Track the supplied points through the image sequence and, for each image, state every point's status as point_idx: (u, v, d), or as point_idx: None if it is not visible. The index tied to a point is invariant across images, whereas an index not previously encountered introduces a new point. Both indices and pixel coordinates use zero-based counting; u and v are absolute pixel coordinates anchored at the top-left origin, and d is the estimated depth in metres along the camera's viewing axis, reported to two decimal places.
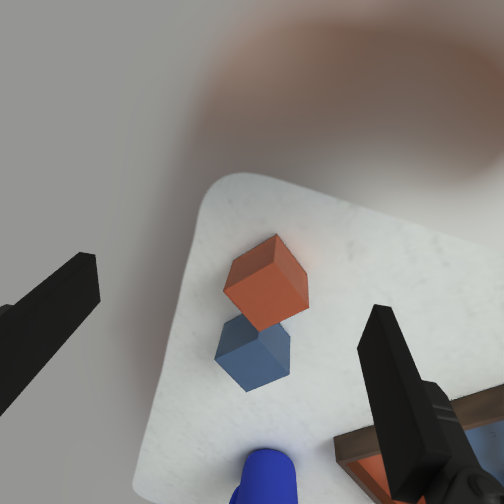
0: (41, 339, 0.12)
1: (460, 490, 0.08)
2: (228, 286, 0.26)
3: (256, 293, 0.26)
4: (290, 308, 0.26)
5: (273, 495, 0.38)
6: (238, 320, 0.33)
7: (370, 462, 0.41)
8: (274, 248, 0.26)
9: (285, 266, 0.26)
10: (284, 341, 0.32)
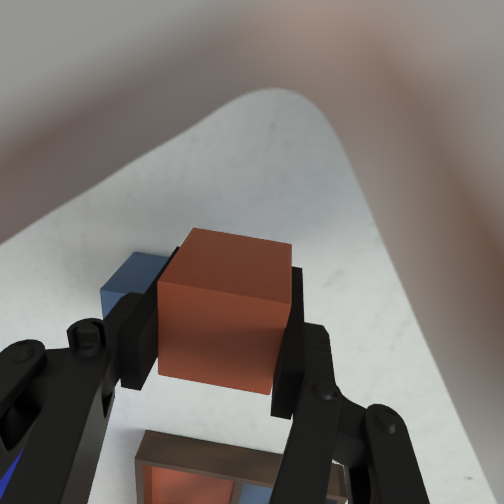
0: None
1: (306, 400, 0.10)
2: (173, 280, 0.12)
3: (211, 326, 0.13)
4: (241, 379, 0.14)
5: None
6: (157, 261, 0.24)
7: (162, 469, 0.36)
8: (290, 271, 0.14)
9: None
10: None
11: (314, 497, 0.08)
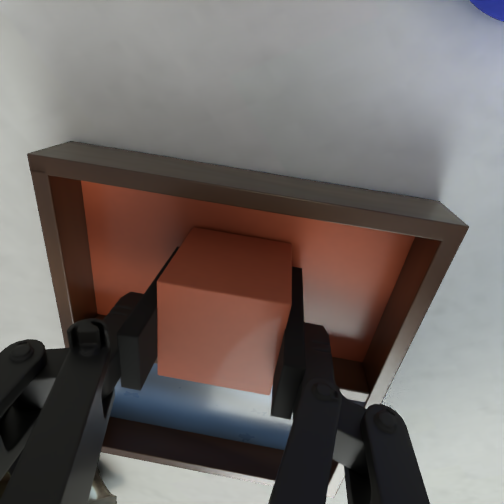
0: None
1: (306, 400, 0.10)
2: (173, 280, 0.12)
3: (211, 326, 0.13)
4: (241, 379, 0.14)
5: None
6: None
7: (319, 229, 0.16)
8: (290, 271, 0.14)
9: None
10: None
11: (314, 497, 0.08)
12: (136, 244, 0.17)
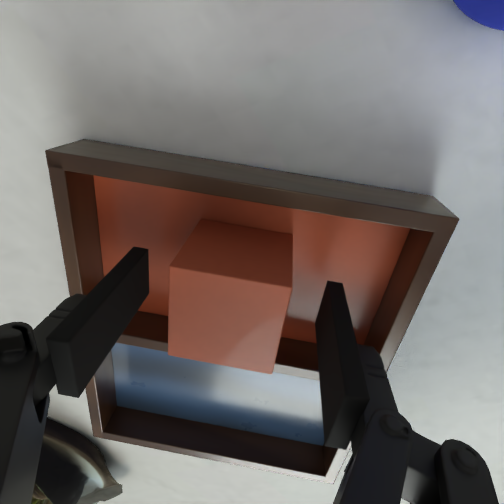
0: (110, 325, 0.13)
1: (373, 431, 0.09)
2: (183, 265, 0.13)
3: (218, 308, 0.14)
4: (245, 359, 0.15)
5: None
6: None
7: (318, 223, 0.17)
8: (291, 258, 0.15)
9: None
10: None
11: None
12: (145, 237, 0.18)
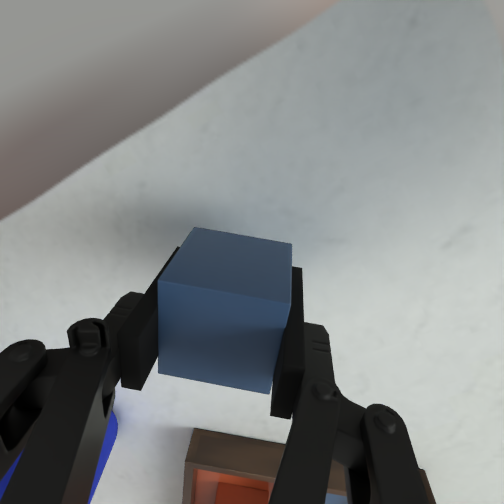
0: None
1: (306, 400, 0.10)
2: None
3: None
4: None
5: None
6: (232, 240, 0.16)
7: (210, 473, 0.32)
8: None
9: None
10: None
11: (314, 497, 0.08)
12: None
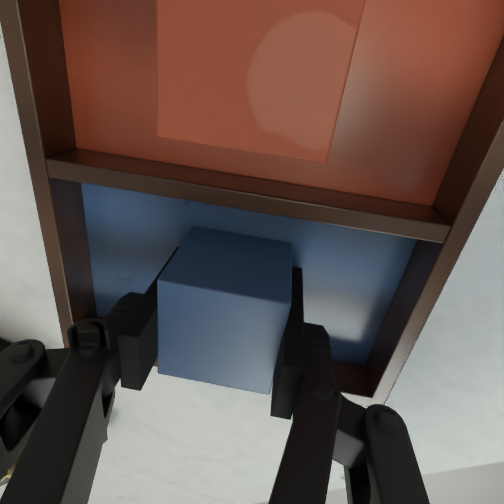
0: None
1: (306, 400, 0.10)
2: None
3: (243, 8, 0.08)
4: (285, 130, 0.09)
5: None
6: (232, 239, 0.16)
7: None
8: None
9: None
10: None
11: (314, 497, 0.08)
12: (126, 15, 0.12)
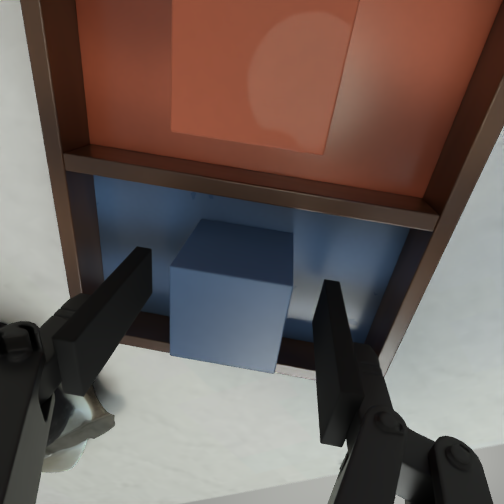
0: (114, 325, 0.13)
1: (368, 428, 0.09)
2: None
3: (249, 16, 0.09)
4: (286, 125, 0.10)
5: None
6: (237, 230, 0.17)
7: None
8: None
9: None
10: None
11: None
12: (139, 19, 0.13)
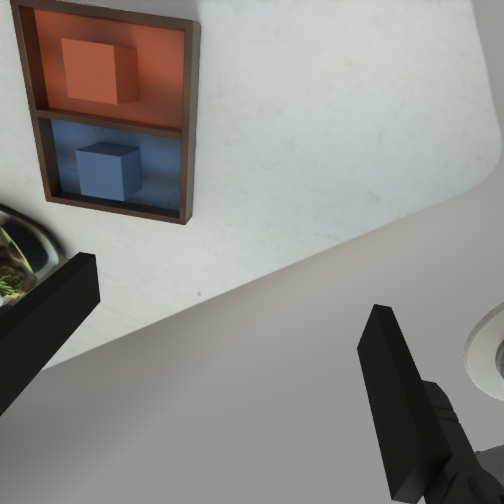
0: (41, 339, 0.12)
1: (460, 490, 0.08)
2: (67, 38, 0.30)
3: (85, 61, 0.31)
4: (103, 94, 0.32)
5: None
6: (113, 145, 0.38)
7: (147, 41, 0.34)
8: (124, 47, 0.32)
9: (122, 65, 0.32)
10: (135, 184, 0.39)
11: None
12: None
